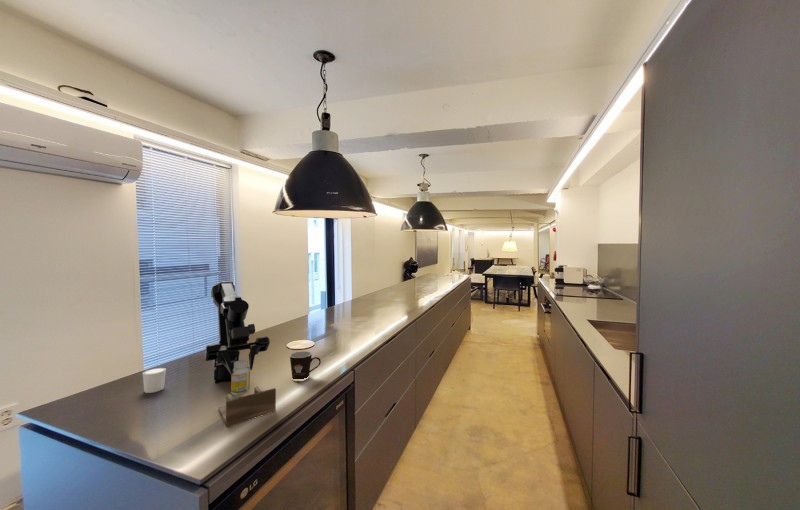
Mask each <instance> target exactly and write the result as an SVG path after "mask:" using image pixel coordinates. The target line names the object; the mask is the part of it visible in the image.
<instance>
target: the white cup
mask: <svg viewBox="0 0 800 510" xmlns="http://www.w3.org/2000/svg"><path fill="white" fill-rule="evenodd" d="M166 373H167V368H165V367H157V368H151V369H147V370H145V371H143V372H142V381H143V391H144V393H145V394H150V393H157V392H159V391H161V390H163V389H164V388H165V381H166Z"/></svg>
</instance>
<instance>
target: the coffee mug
mask: <svg viewBox="0 0 800 510" xmlns="http://www.w3.org/2000/svg"><path fill="white" fill-rule="evenodd" d="M312 354H313V353H312V352H311V351H307V350H306V351H305V350H303V351H302V350H299V351H295V352H292V353H290V354H289V360H290V368H291V379H292V378H293V379H304V378H307V377H308V376H309V377H310V374H311V372H313V371H314V370H316V369H317V368H318V367H319V366H320V365H321V363H322V361H321V359H320V357H317V356H315V357H312V356H313V355H312ZM315 359H316V360H318V364H317V365H316V366H315V367H313V368H312V369H311V363H312V361H314V360H315Z"/></svg>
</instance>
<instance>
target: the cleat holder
mask: <svg viewBox="0 0 800 510" xmlns="http://www.w3.org/2000/svg"><path fill="white" fill-rule="evenodd" d="M253 388H254V389H253V391H254V392H253V393H252V394H248V395H244V396H240V397H237V398H234V397H233V396H232V395H231V394H232V393H227V394H226V401H225V405H222V406H218V409H217V410H218V413H219V415H220V418H221V419H222V421H223V423H224V425H225V426H226V428H228V427H231V426H234V425H237V424H240V423H243V422H246V421H249V419H250V420H253V419H256V418H255V417H257V418H259V417H258V416H260V417H262V416H261V415H263V416H266V415H268V413H269V414H272V413H275V412H277V411H276V402H277V401H276V399H277V397H276V395H277V394H276V393H277V389H276V388H275V387H273V388H270V389H267V390H263V391H262V390H261V388H259V386H255V387H253ZM274 411H275V412H274ZM271 412H272V413H271ZM265 414H266V415H265ZM252 418H253V419H252Z"/></svg>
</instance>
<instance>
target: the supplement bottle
mask: <svg viewBox="0 0 800 510" xmlns="http://www.w3.org/2000/svg"><path fill="white" fill-rule="evenodd" d="M248 365H249V360H247V359H240V360H239V361H236V362H234V369H233V373H232V374H231V381H230V382H231V383H230V384H231V385H230V386H231V387H230V391H231V392H230V394H232V395H234V396H240V395H244V394H247V393H248V392H249V391H250V383H251V370H250V366H248Z"/></svg>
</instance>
